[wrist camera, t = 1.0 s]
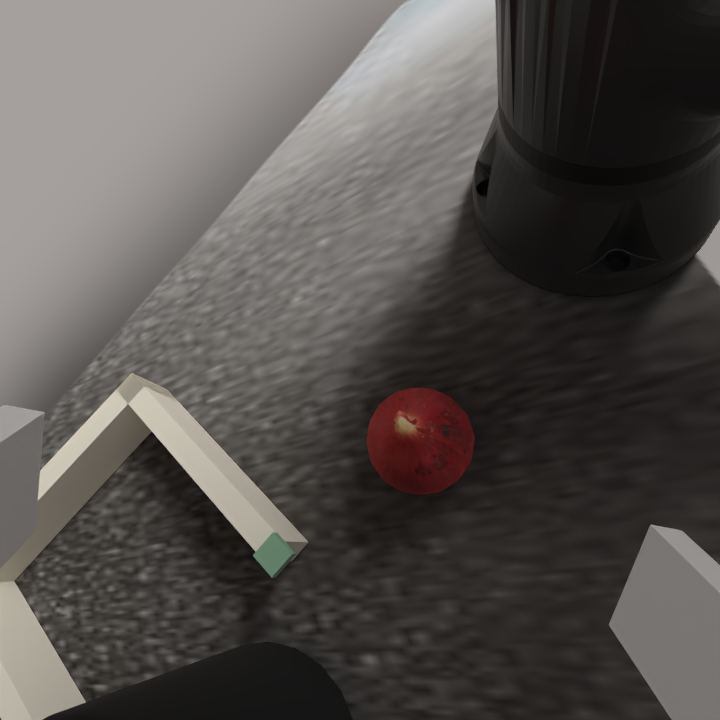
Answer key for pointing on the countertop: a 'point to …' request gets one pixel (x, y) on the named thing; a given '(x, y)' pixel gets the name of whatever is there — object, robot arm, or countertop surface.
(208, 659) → the coffee jar
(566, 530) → the countertop surface
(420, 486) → the onion
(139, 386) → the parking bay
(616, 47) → the robot arm
